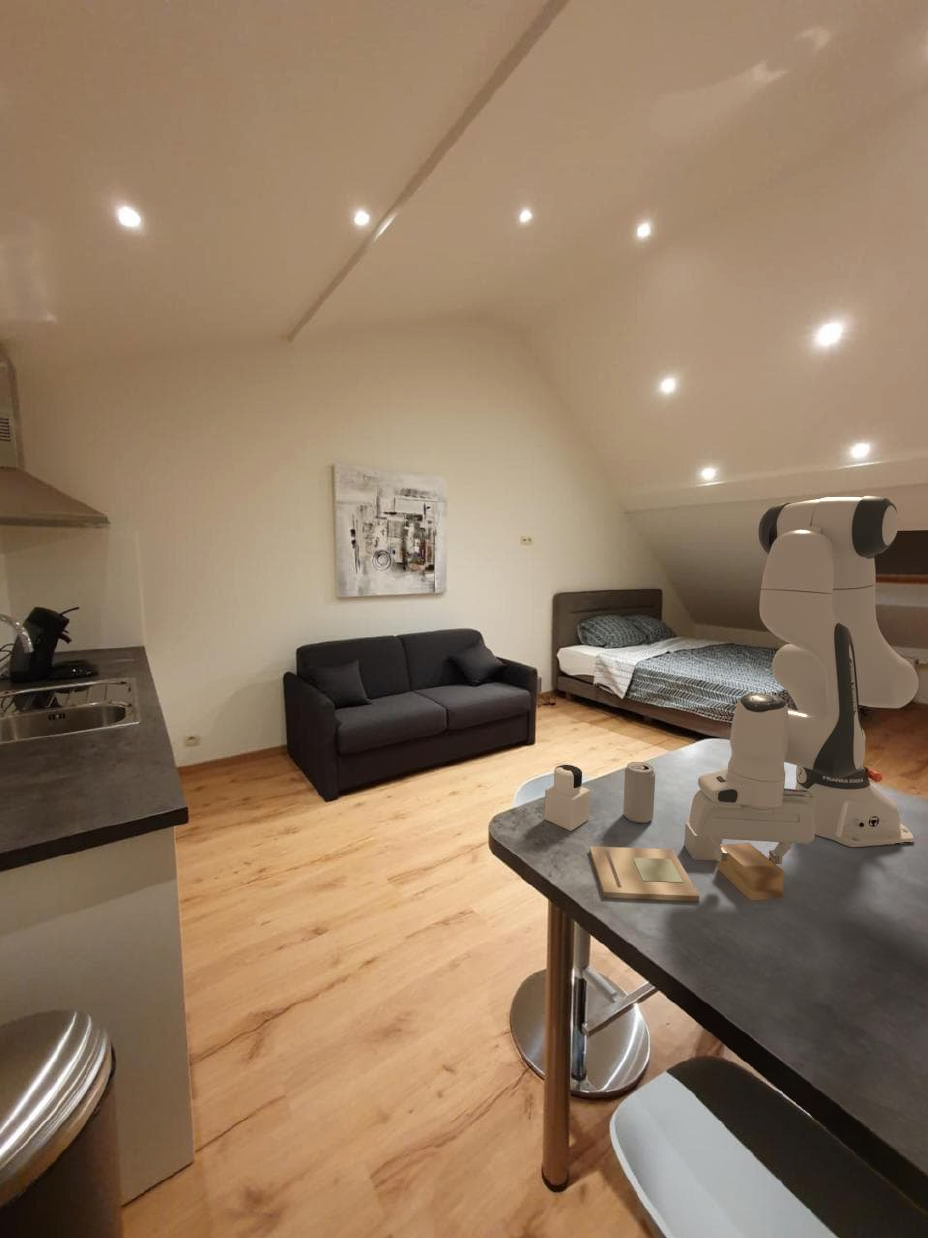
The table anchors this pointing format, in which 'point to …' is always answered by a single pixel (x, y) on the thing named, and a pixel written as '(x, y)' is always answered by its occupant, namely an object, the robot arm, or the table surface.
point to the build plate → (642, 874)
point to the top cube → (698, 845)
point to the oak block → (752, 871)
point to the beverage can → (639, 792)
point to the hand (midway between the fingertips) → (747, 861)
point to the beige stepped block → (567, 798)
